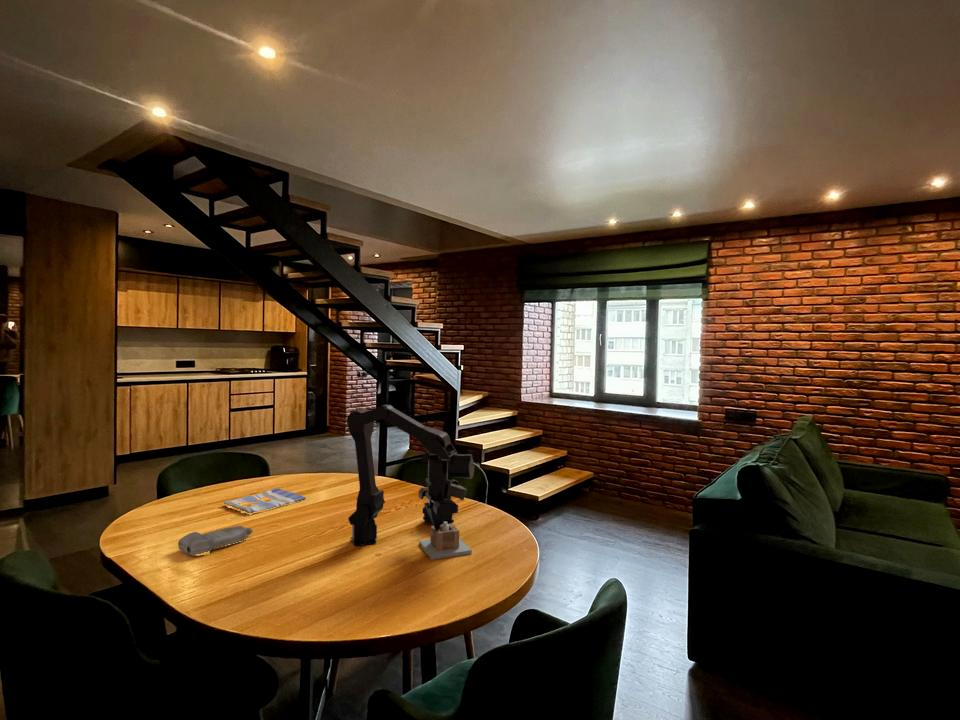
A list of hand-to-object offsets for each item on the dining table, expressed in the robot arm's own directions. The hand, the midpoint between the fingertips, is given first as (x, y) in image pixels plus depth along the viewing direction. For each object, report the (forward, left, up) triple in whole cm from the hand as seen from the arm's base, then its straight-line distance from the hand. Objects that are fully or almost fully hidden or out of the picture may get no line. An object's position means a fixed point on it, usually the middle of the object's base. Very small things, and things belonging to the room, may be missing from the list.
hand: (437, 529), depth 148 cm
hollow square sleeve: (+2, 0, -5) cm, 6 cm away
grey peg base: (+3, 0, -6) cm, 6 cm away
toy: (+9, +19, -6) cm, 22 cm away
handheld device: (-58, +26, -6) cm, 64 cm away
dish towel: (-45, +64, -7) cm, 79 cm away
